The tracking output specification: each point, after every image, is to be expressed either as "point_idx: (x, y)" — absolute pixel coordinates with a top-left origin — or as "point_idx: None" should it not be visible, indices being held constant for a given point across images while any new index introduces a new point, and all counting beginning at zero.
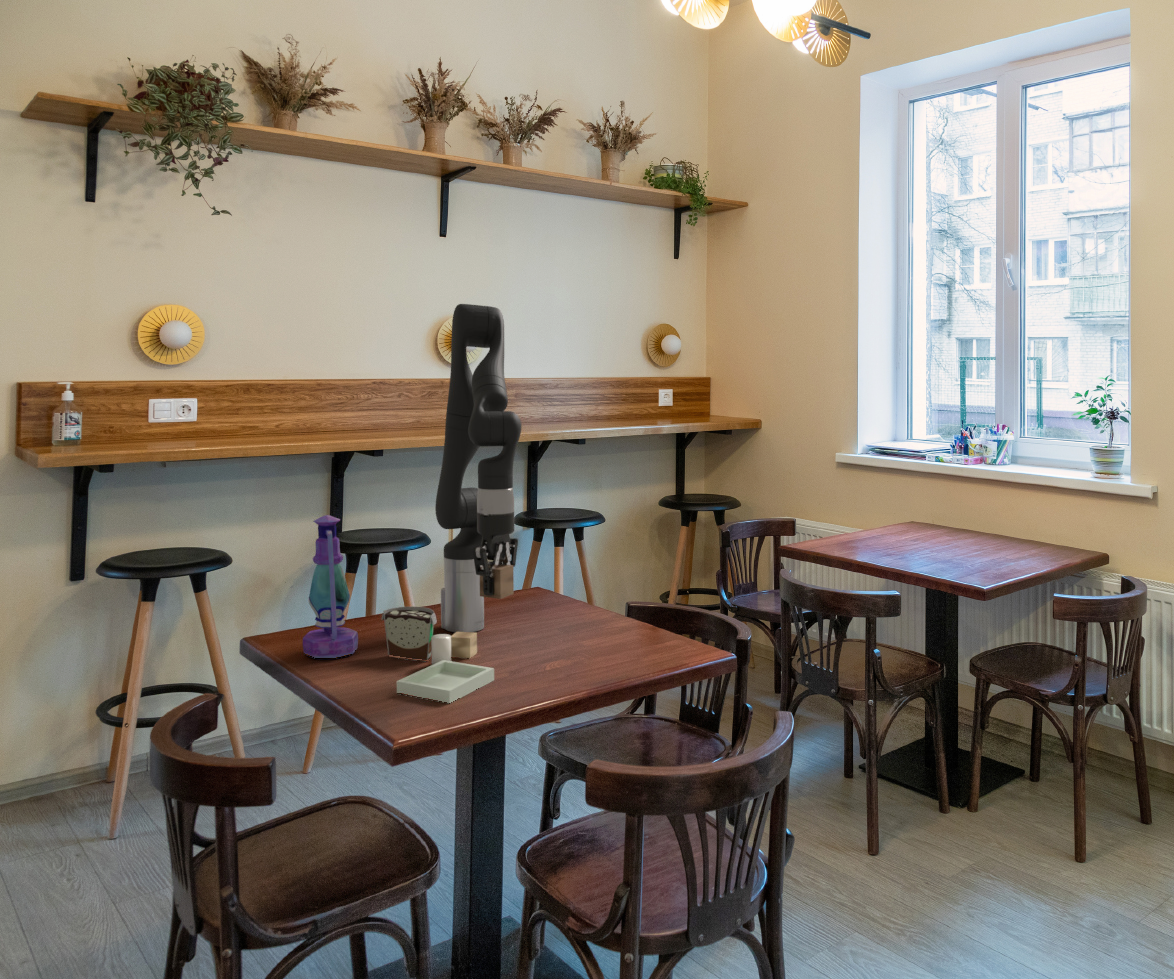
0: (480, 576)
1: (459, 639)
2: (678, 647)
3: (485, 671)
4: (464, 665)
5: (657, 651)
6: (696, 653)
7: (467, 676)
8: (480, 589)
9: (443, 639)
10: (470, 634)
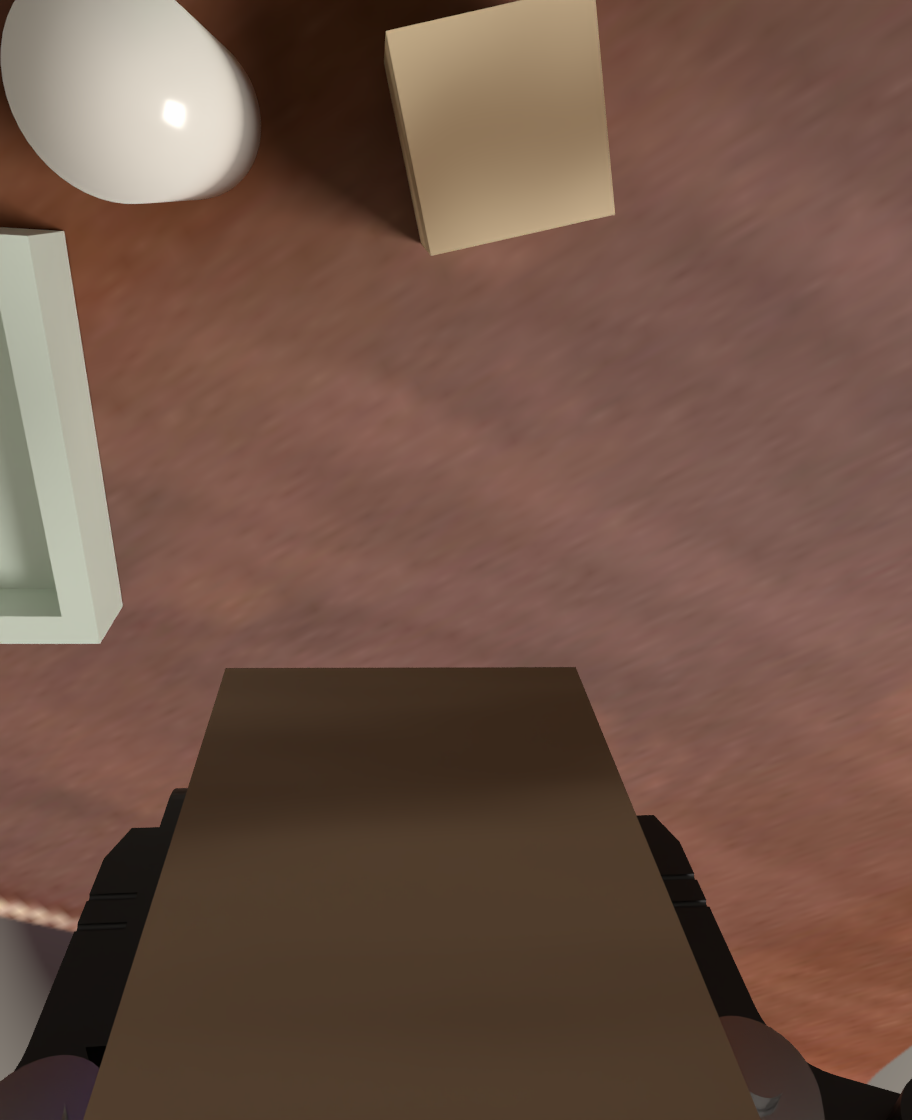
0: (147, 950)
1: (408, 146)
2: (898, 985)
3: (15, 633)
4: (31, 454)
5: (830, 954)
6: (829, 1044)
7: (28, 477)
8: (204, 749)
9: (55, 171)
10: (541, 189)
